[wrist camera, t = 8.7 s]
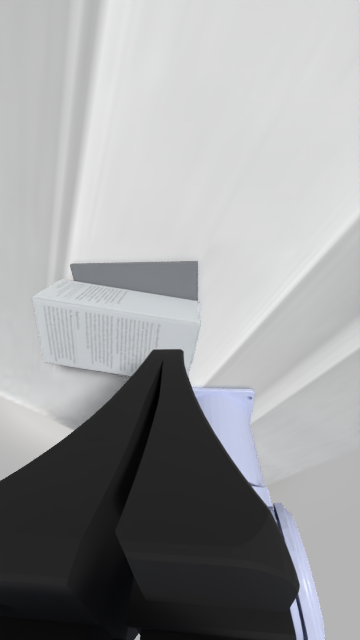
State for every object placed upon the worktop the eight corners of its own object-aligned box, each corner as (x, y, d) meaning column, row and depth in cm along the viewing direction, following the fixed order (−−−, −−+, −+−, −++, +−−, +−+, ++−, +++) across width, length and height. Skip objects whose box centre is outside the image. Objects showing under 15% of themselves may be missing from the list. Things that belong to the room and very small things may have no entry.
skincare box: (67, 335, 22) (188, 356, 22) (40, 363, 18) (186, 388, 18) (61, 275, 19) (201, 300, 19) (28, 293, 15) (201, 324, 16)
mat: (197, 335, 21) (197, 337, 21) (90, 334, 22) (89, 337, 22) (197, 261, 18) (197, 262, 18) (72, 263, 19) (69, 265, 19)
